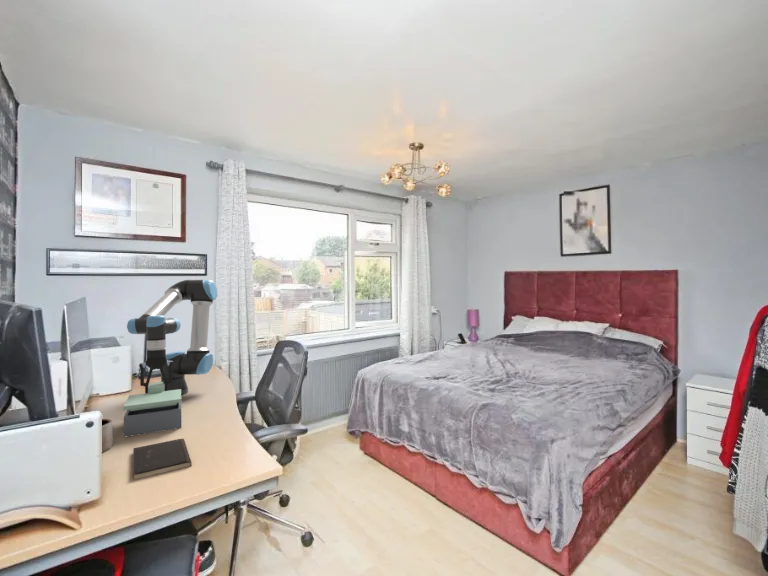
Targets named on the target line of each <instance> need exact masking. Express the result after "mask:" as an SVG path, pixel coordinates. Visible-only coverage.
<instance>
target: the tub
mask: <svg viewBox="0 0 768 576" xmlns="http://www.w3.org/2000/svg"><path fill="white" fill-rule="evenodd" d="M175 428H177V429H181V428H182V402H181V403H177V404H176V405H172V406H165V407H157V408H150V409H143V410H135V411H130V409H129V410H125V413H124V415H123V437H124V438H126V437H125V436H128V437H132V436H131V435H134V436H139V435H138V434H140V435H145V434H144V433H146V434H151V433H157V432H164V430H165V431H169V430H170V429H171V430H176V429H175ZM171 430H170V431H171Z"/></svg>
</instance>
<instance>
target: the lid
mask: <svg viewBox="0 0 768 576" xmlns="http://www.w3.org/2000/svg"><path fill="white" fill-rule="evenodd" d="M149 385H150V387H149V393H145V392H144V393H138V394H129V395H128V397H127V399H126V401H125V403H124V405H123V411H127V410H129V409H130V411H135V410H143V409H150V408H157V407H165V406H172V405H176V404H177V403H181V404H182V395H181V389H178V390H170V391H163V382H161V381H157V382H150V383H149Z"/></svg>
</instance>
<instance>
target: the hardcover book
mask: <svg viewBox="0 0 768 576" xmlns="http://www.w3.org/2000/svg"><path fill="white" fill-rule="evenodd" d="M187 447H188V446H187V444H186V441H185V439H184V438H177V439H173V440H166V441H164V442H163V441H162V442H157V443H153V444H148V445H143V446H138V447H134V448H133V449H132V450H133V451H132V452H133V454H132V455H133V457H132V459H133V460H132V476H133V478H134V480H138V479H142V478H147V477H149V476H154V475H159V474H163V473H167V472H171V471H175V470H176V471H177V470H179V469H184V468H187V467H192V459H191V456H190V454H189V450H188V448H187Z"/></svg>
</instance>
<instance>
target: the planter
mask: <svg viewBox="0 0 768 576" xmlns="http://www.w3.org/2000/svg"><path fill="white" fill-rule="evenodd" d="M101 419H102V451H103V452H106V451H108V450H109V449H110V448H111V447H112V446H113V421H112V419H110V418H101ZM107 449H108V450H107ZM105 450H106V451H105ZM103 452H102V453H103Z"/></svg>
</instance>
